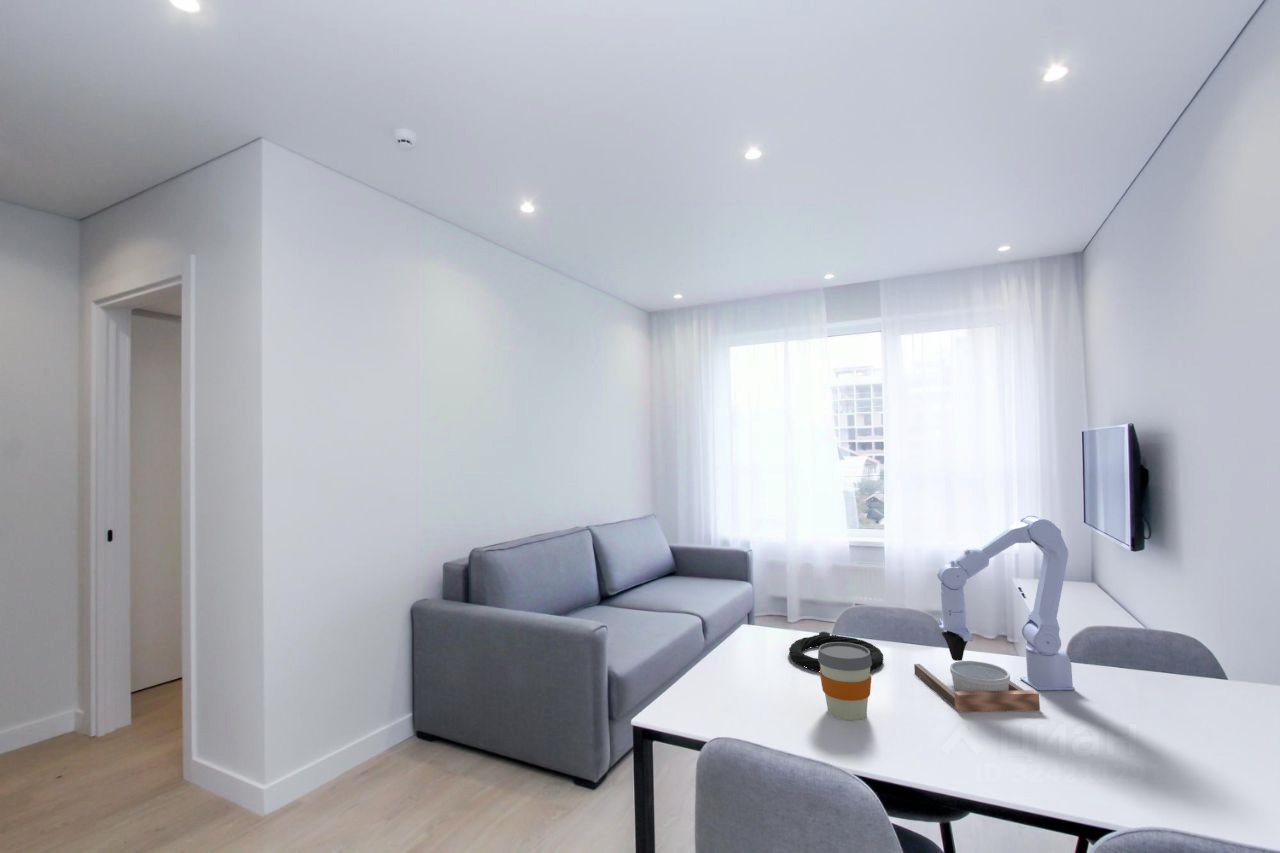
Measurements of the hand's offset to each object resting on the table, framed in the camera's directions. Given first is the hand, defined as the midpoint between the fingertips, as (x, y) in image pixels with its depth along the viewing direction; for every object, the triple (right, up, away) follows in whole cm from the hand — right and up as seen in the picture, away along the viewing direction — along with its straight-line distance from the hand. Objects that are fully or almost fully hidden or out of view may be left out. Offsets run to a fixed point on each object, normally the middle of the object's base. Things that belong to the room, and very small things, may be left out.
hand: (957, 659), depth 161 cm
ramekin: (0, -5, -12) cm, 13 cm away
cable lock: (-27, -8, +20) cm, 35 cm away
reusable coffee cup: (-37, -6, -18) cm, 41 cm away
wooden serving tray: (0, -5, -7) cm, 9 cm away
